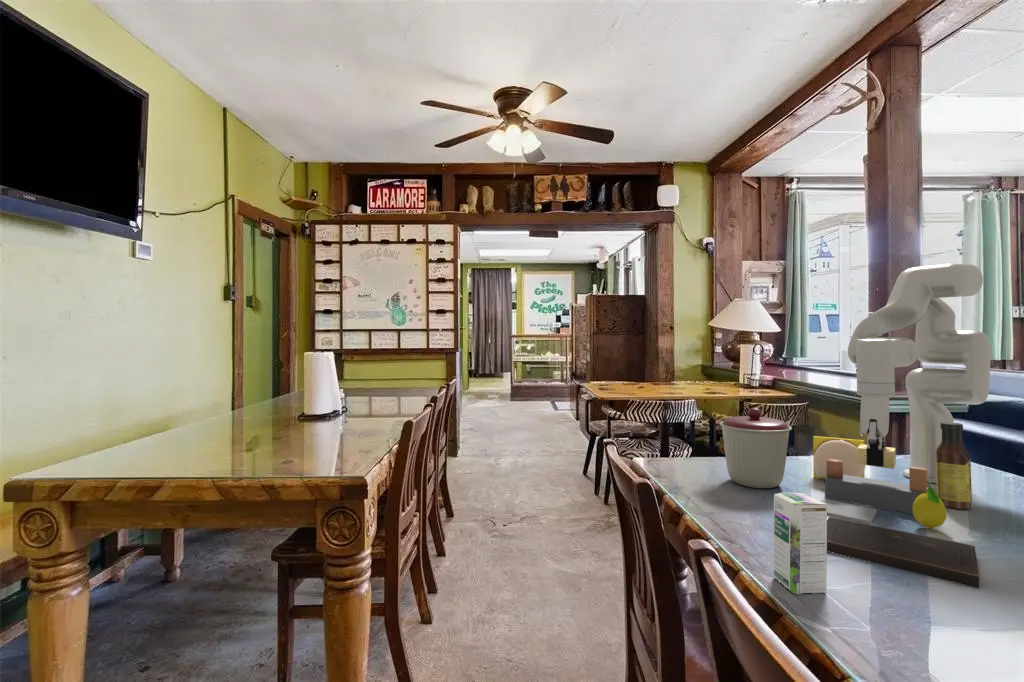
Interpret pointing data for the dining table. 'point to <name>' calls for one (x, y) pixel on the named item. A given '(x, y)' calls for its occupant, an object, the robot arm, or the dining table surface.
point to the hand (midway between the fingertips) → (876, 462)
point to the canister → (755, 449)
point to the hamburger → (836, 455)
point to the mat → (850, 511)
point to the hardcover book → (904, 551)
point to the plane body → (874, 488)
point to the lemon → (929, 509)
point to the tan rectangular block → (888, 456)
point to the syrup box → (800, 543)
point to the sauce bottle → (953, 468)
